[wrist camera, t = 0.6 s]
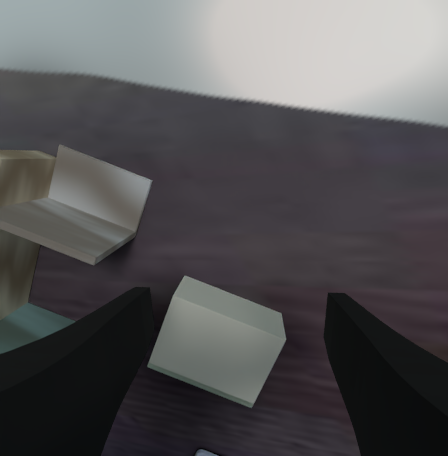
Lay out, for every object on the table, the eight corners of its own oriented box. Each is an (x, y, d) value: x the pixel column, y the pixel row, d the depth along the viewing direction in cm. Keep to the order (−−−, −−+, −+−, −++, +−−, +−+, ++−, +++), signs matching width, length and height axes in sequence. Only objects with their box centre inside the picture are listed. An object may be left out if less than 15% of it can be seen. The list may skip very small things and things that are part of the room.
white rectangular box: (251, 372, 24) (251, 408, 21) (161, 337, 24) (147, 366, 21) (281, 312, 23) (286, 339, 19) (185, 274, 23) (173, 295, 19)
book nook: (92, 375, 26) (45, 440, 20) (2, 340, 26) (-72, 394, 20) (152, 180, 21) (114, 189, 15) (42, 137, 21) (-39, 130, 15)
